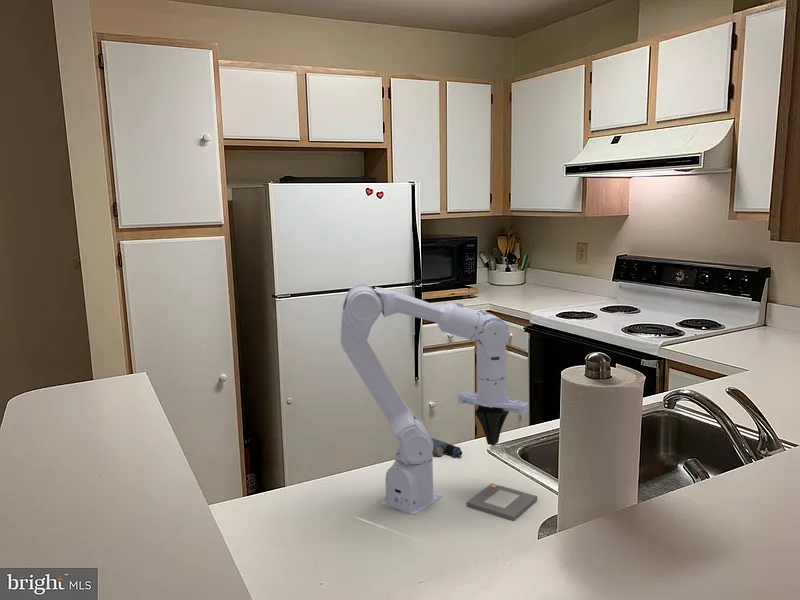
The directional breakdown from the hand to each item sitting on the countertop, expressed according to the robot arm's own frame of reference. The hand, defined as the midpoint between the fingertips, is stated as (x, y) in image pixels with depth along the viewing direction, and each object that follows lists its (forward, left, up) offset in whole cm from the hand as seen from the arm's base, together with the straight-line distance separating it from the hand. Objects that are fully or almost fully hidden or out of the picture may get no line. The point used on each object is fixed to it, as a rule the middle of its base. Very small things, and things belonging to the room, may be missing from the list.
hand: (492, 443), depth 123 cm
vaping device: (+12, +27, -9) cm, 31 cm away
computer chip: (-3, -4, -10) cm, 11 cm away
